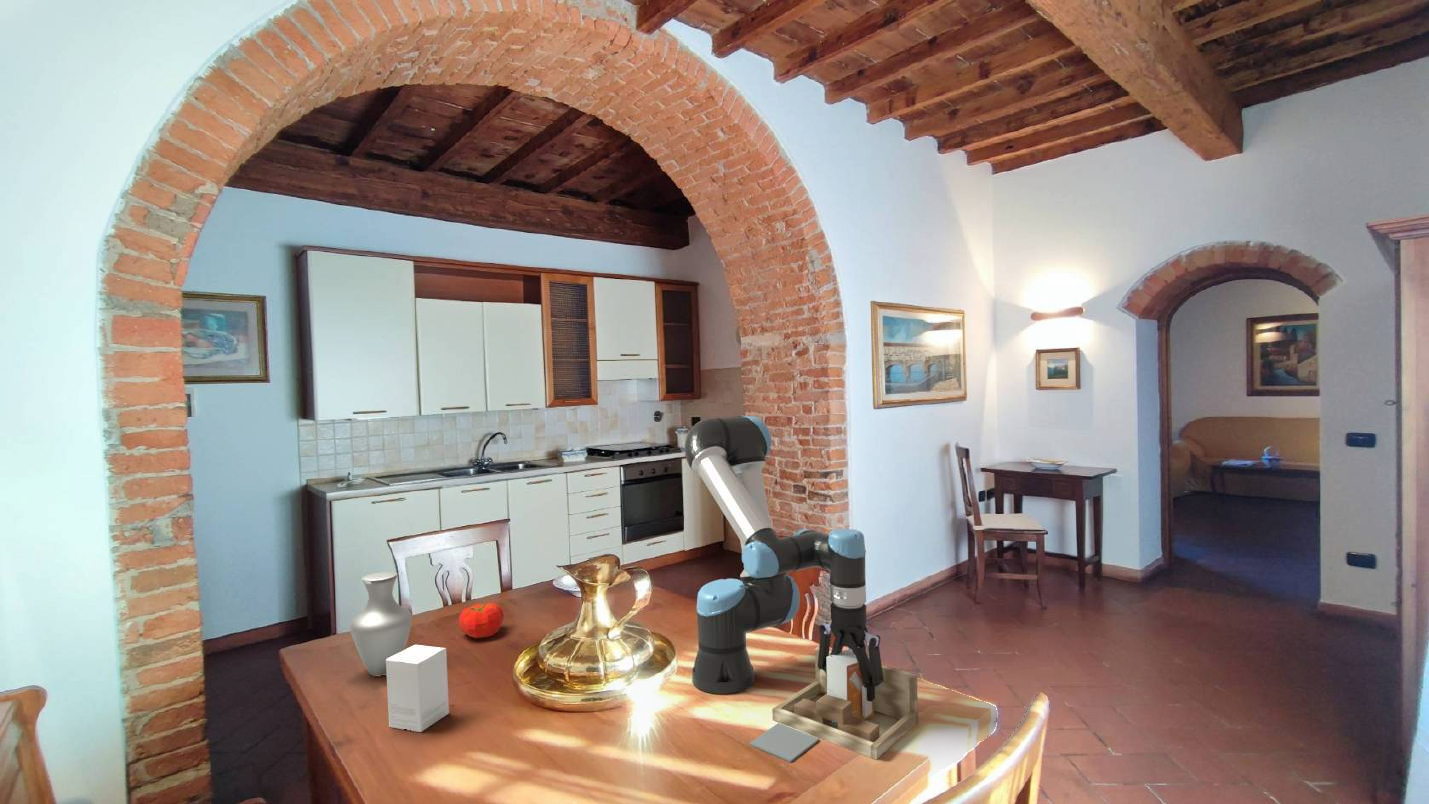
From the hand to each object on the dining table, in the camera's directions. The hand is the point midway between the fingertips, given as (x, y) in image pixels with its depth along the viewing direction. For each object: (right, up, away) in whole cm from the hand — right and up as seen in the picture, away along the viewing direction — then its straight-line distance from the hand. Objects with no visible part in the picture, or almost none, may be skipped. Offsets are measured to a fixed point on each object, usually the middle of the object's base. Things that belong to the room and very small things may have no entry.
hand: (850, 708), depth 144 cm
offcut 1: (-8, -2, -2) cm, 9 cm away
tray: (-2, -2, -2) cm, 3 cm away
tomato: (-98, -3, +54) cm, 112 cm away
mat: (-15, -2, -10) cm, 18 cm away
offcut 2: (-5, +1, -6) cm, 8 cm away
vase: (-115, -4, +30) cm, 119 cm away
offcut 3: (0, -2, -9) cm, 10 cm away
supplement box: (-94, -4, +4) cm, 94 cm away
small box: (0, -2, 0) cm, 2 cm away
